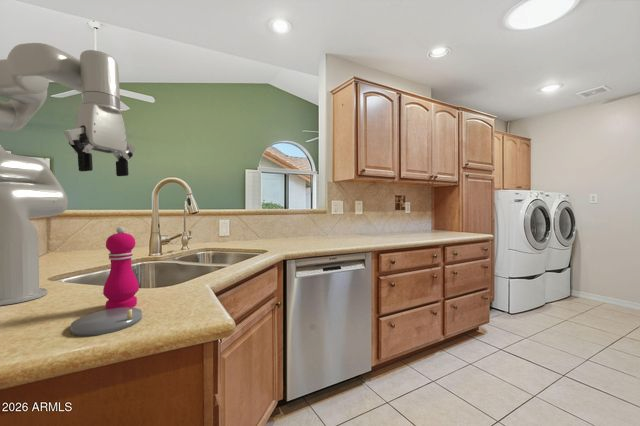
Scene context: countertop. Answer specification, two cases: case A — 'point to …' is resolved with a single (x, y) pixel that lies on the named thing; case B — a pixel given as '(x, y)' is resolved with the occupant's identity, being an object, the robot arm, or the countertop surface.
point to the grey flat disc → (106, 321)
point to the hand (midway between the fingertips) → (105, 173)
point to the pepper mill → (120, 271)
